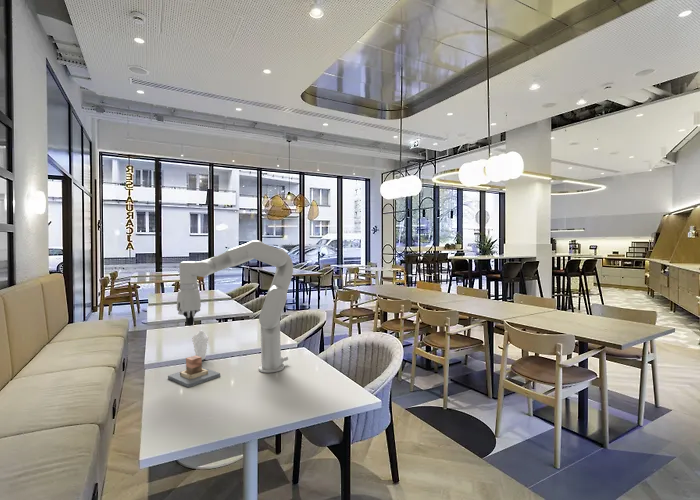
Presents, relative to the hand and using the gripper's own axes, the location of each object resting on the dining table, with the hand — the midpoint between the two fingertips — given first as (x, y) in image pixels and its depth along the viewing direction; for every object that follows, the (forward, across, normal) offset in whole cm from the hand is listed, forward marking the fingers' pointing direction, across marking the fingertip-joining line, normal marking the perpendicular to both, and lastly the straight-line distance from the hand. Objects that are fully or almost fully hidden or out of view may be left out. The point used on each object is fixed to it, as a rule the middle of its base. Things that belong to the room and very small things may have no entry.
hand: (189, 325), depth 182 cm
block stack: (+23, +1, +4) cm, 23 cm away
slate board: (+24, +1, +4) cm, 25 cm away
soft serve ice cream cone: (+24, -16, -18) cm, 34 cm away
